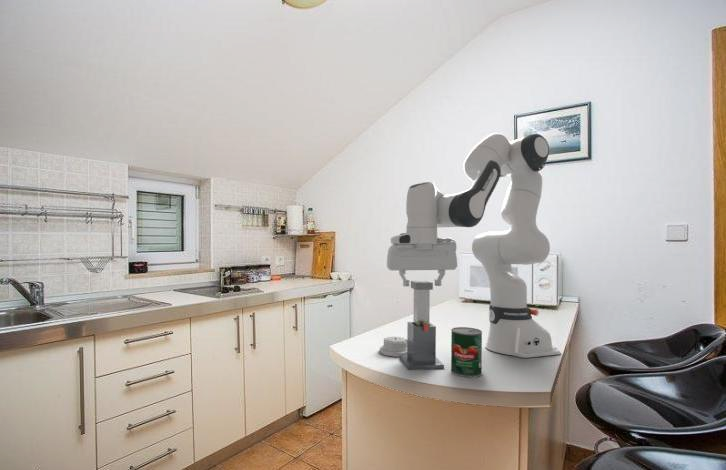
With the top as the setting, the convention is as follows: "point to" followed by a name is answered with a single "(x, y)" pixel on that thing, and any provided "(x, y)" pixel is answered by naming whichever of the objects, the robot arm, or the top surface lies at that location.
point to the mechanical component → (394, 346)
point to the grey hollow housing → (421, 347)
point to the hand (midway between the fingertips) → (422, 286)
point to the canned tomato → (466, 352)
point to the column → (421, 301)
